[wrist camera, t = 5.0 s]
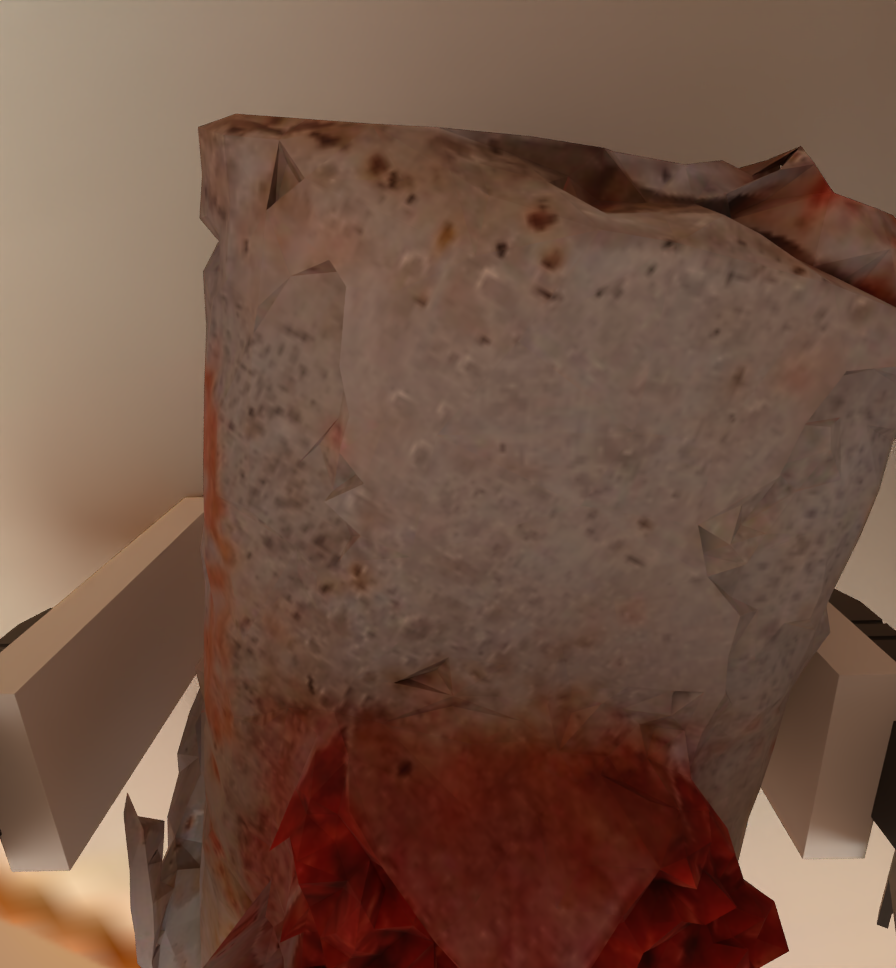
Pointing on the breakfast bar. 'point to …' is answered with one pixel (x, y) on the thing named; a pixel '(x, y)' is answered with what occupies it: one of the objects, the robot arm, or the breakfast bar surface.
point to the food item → (507, 544)
